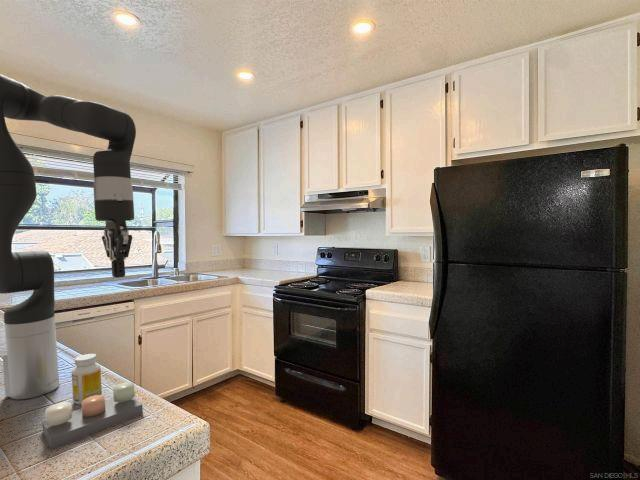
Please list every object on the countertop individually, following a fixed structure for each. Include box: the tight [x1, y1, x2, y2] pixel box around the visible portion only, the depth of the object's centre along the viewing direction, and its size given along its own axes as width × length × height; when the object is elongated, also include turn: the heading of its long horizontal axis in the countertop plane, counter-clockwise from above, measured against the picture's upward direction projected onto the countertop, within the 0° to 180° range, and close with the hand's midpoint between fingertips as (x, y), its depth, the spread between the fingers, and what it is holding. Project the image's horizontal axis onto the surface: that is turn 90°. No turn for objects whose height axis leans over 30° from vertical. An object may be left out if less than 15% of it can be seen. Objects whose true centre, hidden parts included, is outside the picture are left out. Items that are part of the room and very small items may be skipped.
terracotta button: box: [81, 394, 106, 417], centre depth 69 cm, size 4×4×2 cm
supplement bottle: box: [71, 353, 103, 405], centre depth 79 cm, size 5×5×10 cm
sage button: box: [112, 381, 136, 402], centre depth 73 cm, size 4×4×2 cm
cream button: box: [45, 401, 73, 426], centre depth 65 cm, size 4×4×2 cm
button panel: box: [41, 396, 144, 450], centre depth 69 cm, size 15×8×2 cm, turn 136°
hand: (118, 277), depth 79 cm, fingers closed
